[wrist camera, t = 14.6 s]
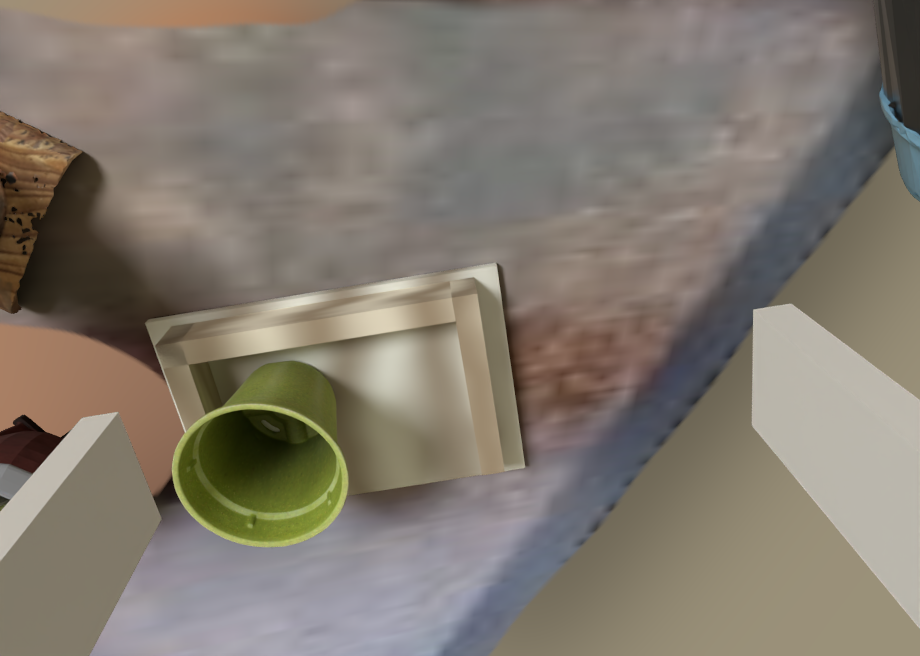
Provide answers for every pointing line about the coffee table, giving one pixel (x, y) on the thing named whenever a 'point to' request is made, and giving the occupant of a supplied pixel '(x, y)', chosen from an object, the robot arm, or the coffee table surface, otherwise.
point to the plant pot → (266, 460)
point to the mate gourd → (22, 455)
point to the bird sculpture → (25, 195)
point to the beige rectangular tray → (370, 370)
